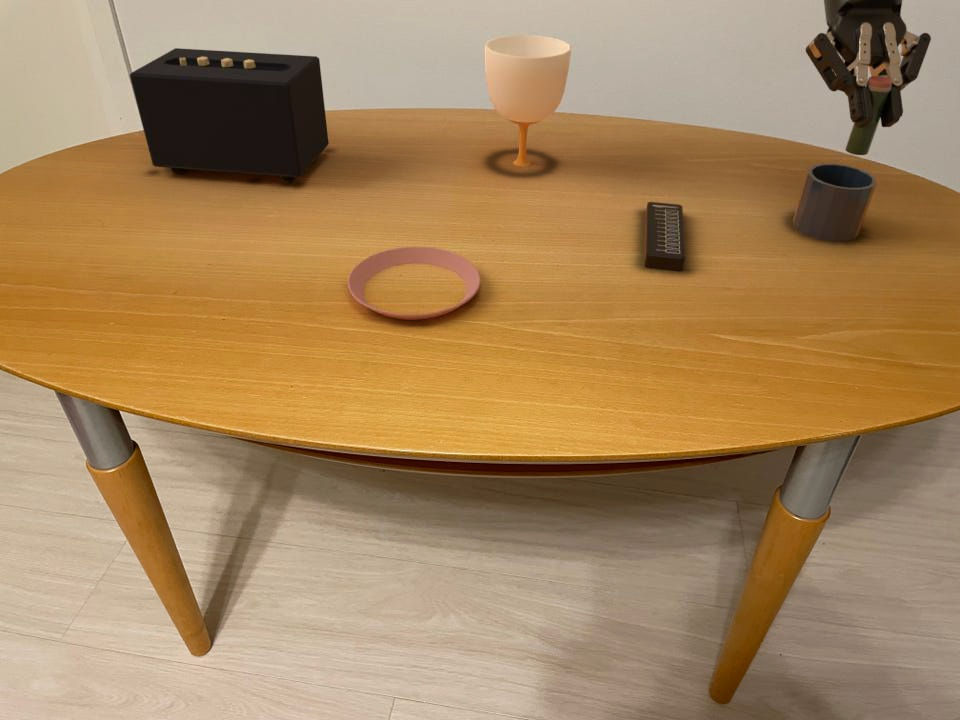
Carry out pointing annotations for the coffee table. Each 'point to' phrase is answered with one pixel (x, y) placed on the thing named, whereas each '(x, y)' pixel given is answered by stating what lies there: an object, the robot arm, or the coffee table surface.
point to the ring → (413, 256)
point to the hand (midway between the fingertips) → (878, 123)
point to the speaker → (232, 111)
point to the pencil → (864, 135)
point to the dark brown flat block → (664, 237)
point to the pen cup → (834, 202)
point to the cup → (526, 80)
